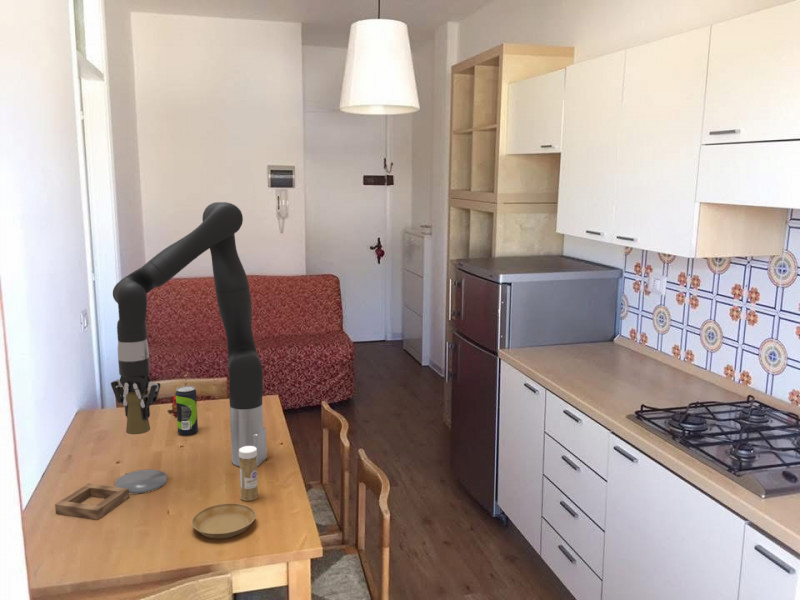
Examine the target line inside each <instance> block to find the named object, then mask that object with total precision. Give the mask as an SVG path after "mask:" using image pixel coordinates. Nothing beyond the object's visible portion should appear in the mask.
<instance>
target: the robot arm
mask: <svg viewBox="0 0 800 600" xmlns="http://www.w3.org/2000/svg"><path fill="white" fill-rule="evenodd" d="M243 221H244V218H243V212H242V211H241V209H240V208H239V207H238V206H237V205H235V204H234V203H231V202H227V201H225V202H223V201H221V202H220V201H218V202H212V203H210V204H208V205H206V207H205V209H204V210H203V213H202V222H201V223H200V224H199V225H198V226H196V228H195V229H194V230H192V231H190V232H189V233H188V234H186V235H185V236H183V237H182V238H180V239H178V240H177V241H175V242H174V243H172V244H170V245H168V246H167V247H165V248H164V249H163V250H161V251H159V253H157V254H156V255H155V256H153V257H152V258H150V260H149V261H147V262H146V263H145V264H144V265H143V266H141V267H140V268H137V269H136V270H134V271H132V272H131V273H129V274H128V275H126V276H125V277H123V278H122V279H120V280H119V281H118V282H117V283H116V284H115V285H114V287H113V289H112V297H113V299H114V301H115V302H116V303H117V306H118V321H117V323H116V333H117V359H118V360H117V362H118V363H117V364H118V374H119V375H120V378H119V379H116V380H113V381H111V382H110V386H111V389H112V391H113V395H114V397H115V399H116V402H117V403H118V404H123V405H122V406H124V412H125V413H124V414H125V417H126V418H127V415H128V403H127V401H126V395H127V394H128V393H129V392H136V395H137V396H138V398H139V399H141V403H140V404H141V414H142V419H143V421H145V420H147V419H148V420H149V418H150V417H151V413H150V412H151V410H150V406H152V405H154V404H155V403H157V399H158V396H159V392H160V388H161V383H160V382H157V383H154V382H153V381H152V380H151V378H150V372H151V369H150V353H149V343H148V338H147V323H146V317H147V309H148V308H147V306H148V304H147V302H148V300H147V294H148V293H149V292H151V291H152V290H153V289H155V288H159V287H162V286H164V285H165V284H167V282H169V280H171V279H172V278H174V277H175V276H176V275H177V274H179V273H180V271H182V270H183V269H185V268H186V267H187V266H188V265H189V264H190V263H193V261H194V260H195V259H197V258H198V257H199V256H201V255H202V254H203V253H205V252H207V251H208V250H210V255H211V266H212V272H213V273H212V274H213V281H214V287H215V294H216V301H217V306H218V311H219V314H220V315H219V316H220V318H221V322H222V324H223V327H224V331H225V336H226V344H227V346H226V347H227V368H228V379H229V380H228V381H229V383H228V384H229V397H228V399H229V421H230V422H229V423H230V446H231V447H230V448H231V449H230V450H231V462H232V464H233V465H234V466H237V467H240V458H239V449H240V448H242V447H244V446H254V447H256V448H257V457H256V458H257V459H256V460H257V467H258V466H260V465H261V464H262V463H263V462H264V461H265V460H267V458H268V454H267V453H268V450H267V428H266V427H265V426H264V415H263V412H264V411H263V395H264V380H263V379H264V378H263V375H264V374H263V373H264V372H263V371H264V370H263V365H262V361H261V359H260V356H259V354H258V350H257V348H256V344H255V339H254V335H253V328H252V317H253V315H252V314H253V313H252V312H253V311H252V310H253V309H252V307H253V306H252V297H251V290H250V284H249V280H248V277H247V274H246V270H245V268H244V266H243V264H242V263H243V262H241V259H240V256H239V254H238V250H237V245H236V236H235V234H236V233H237V232H238V231H240V229H241V227H242V225H243ZM144 392H145V393H146V394H145V395H142V393H144ZM145 397H146V401H145V400H144V398H145Z"/></svg>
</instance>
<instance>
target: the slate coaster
mask: <svg viewBox="0 0 800 600" xmlns="http://www.w3.org/2000/svg"><path fill="white" fill-rule="evenodd" d="M167 477H168V476H167V474H166V473H165V472H164V471H162V470H158V469H142V470H139V469H138V470H134V471H131V472H128V473H125V474H123V475H121V476H120V477H118V478H117V479H116V481H115V483H114V485H115V486H114V487H120V488H127V489H129V493H133V494H132V495H140V494H139V493H142V494H145V493H144V492H147V493H149V492H148V491H151V492H153V491H152V490H154V491H156V490H158V489H157V488H159V489H160V488H162V487H164V486H165V484H166V483H167V482H168V481H167V480H168V479H167ZM161 486H162V487H161ZM155 489H156V490H155ZM136 493H137V494H136Z"/></svg>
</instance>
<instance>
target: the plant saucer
mask: <svg viewBox="0 0 800 600" xmlns="http://www.w3.org/2000/svg"><path fill="white" fill-rule="evenodd" d="M256 515H257V514H256V511H255V510H254V509H253V508H252V507H251V506H249V505H247V504H243V503H236V502H235V503H234V502H232V503H231V502H230V503H229V502H228V503H227V502H226V503H219V504H214V505H212V506H211V505H210V506H208V507H206V508H203V509H201V510H200V511H198V512H197V513H196V514H195V515H193V516H192V519H191V527H192V528H193V529H194V530H195V531H196V532H198V533H199V534H200V535H202V536H204V537H206V538H210V539H216V540H217V539H218V540H220V539H228V538H229V539H230V538H232V537H235V536H237V535H240V534H242V533H243V532H244V531H245V530H247V529H248V528H249V527H250V526H251V525H252V523H253V522H254V520H255V518H256V517H257V516H256Z"/></svg>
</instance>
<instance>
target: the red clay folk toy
mask: <svg viewBox="0 0 800 600" xmlns="http://www.w3.org/2000/svg"><path fill="white" fill-rule="evenodd" d="M189 373H190V372H189V371H187V373H186V374H184V375H183V377H184V378H185V381H184V386H187V379H188V377H189V376H190V374H189ZM172 400H173V401H172V405H171V407H172V408H171V410H172V415H174V417H176V418H177V407H176V392H175V394H174V397H173V399H172Z"/></svg>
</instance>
